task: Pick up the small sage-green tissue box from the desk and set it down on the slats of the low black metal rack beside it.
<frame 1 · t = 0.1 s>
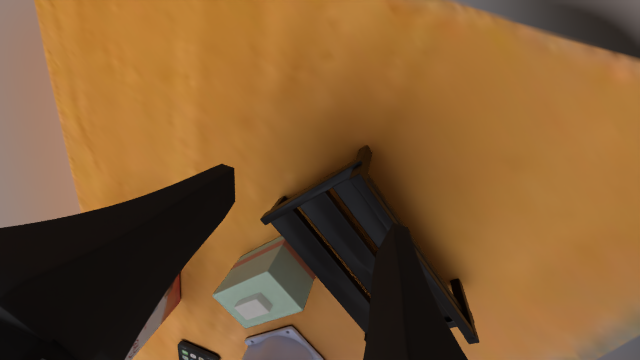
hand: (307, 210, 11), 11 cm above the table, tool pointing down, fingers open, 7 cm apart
tissue box: (278, 260, 28), on the table
rack: (368, 240, 24), on the table
cracker box: (164, 259, 34), on the table
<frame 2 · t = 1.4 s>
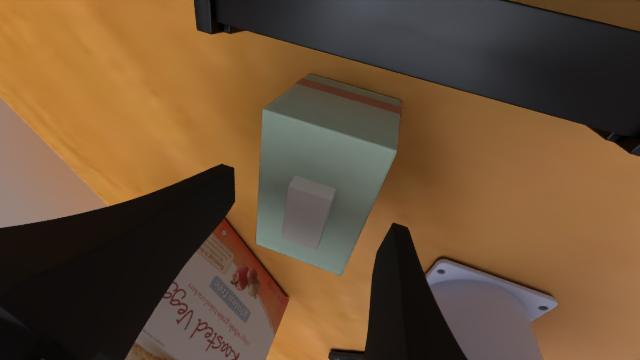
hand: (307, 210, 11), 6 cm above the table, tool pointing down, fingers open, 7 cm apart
tissue box: (337, 150, 16), on the table
cracker box: (238, 255, 26), on the table
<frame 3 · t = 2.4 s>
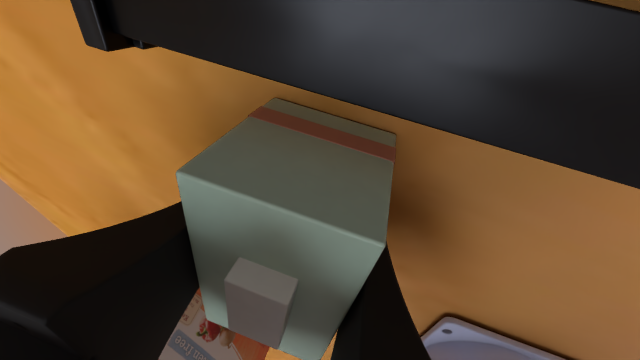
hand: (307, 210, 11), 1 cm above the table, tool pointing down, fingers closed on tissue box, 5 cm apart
tissue box: (315, 191, 12), on the table, touching gripper
cracker box: (212, 292, 23), on the table
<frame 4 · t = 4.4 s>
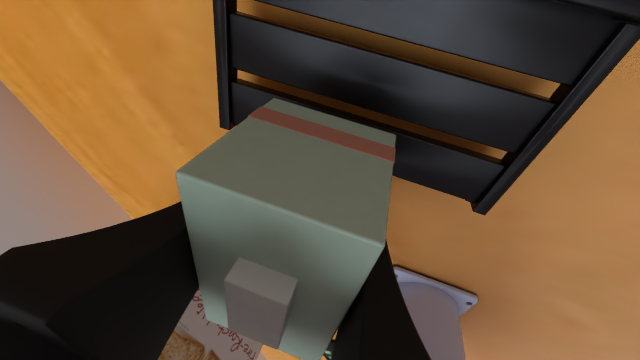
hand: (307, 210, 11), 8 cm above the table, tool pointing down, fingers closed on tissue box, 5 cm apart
tissue box: (315, 191, 12), point 7 cm above the table, touching gripper
rack: (379, 67, 15), on the table
cracker box: (240, 261, 32), on the table
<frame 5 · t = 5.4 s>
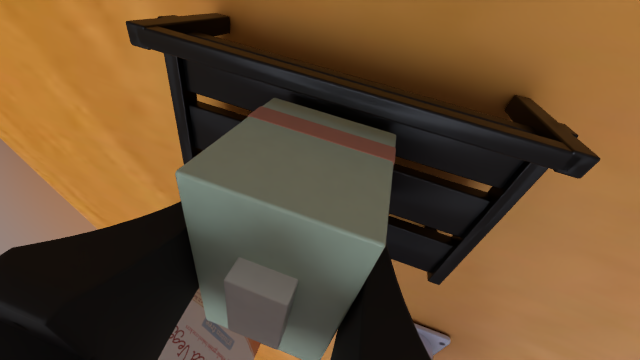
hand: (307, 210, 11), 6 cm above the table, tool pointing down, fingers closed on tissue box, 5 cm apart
tissue box: (315, 191, 12), point 5 cm above the table, touching gripper
rack: (339, 140, 16), on the table
cracker box: (226, 292, 33), on the table
when the fingers open (5 cm above the table, at t = 6.2 s): tissue box stays where it is, resting on rack.
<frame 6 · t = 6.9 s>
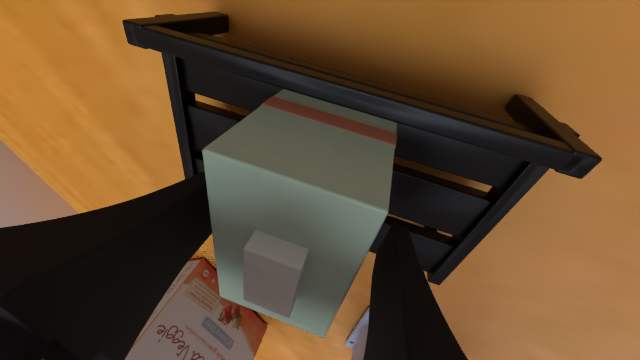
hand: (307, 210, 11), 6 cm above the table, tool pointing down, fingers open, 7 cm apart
tissue box: (321, 178, 13), point 3 cm above the table, touching rack
rack: (338, 140, 15), on the table
cracker box: (225, 292, 33), on the table
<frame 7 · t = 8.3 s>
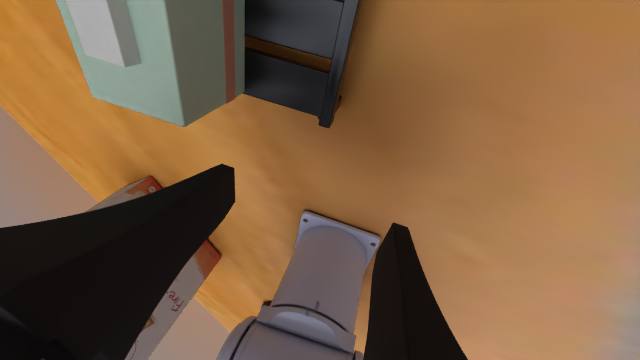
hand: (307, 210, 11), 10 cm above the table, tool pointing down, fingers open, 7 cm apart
tissue box: (203, 7, 14), point 3 cm above the table, touching rack
cracker box: (178, 220, 33), on the table
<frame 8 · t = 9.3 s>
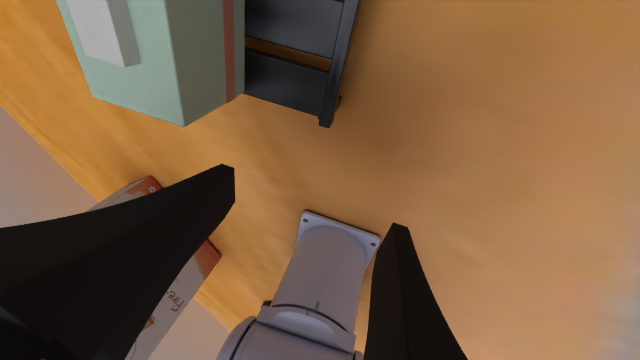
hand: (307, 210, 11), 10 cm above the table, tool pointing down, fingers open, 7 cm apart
tissue box: (203, 7, 14), point 3 cm above the table, touching rack
cracker box: (178, 220, 33), on the table
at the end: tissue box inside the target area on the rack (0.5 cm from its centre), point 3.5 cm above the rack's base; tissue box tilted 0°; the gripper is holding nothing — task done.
